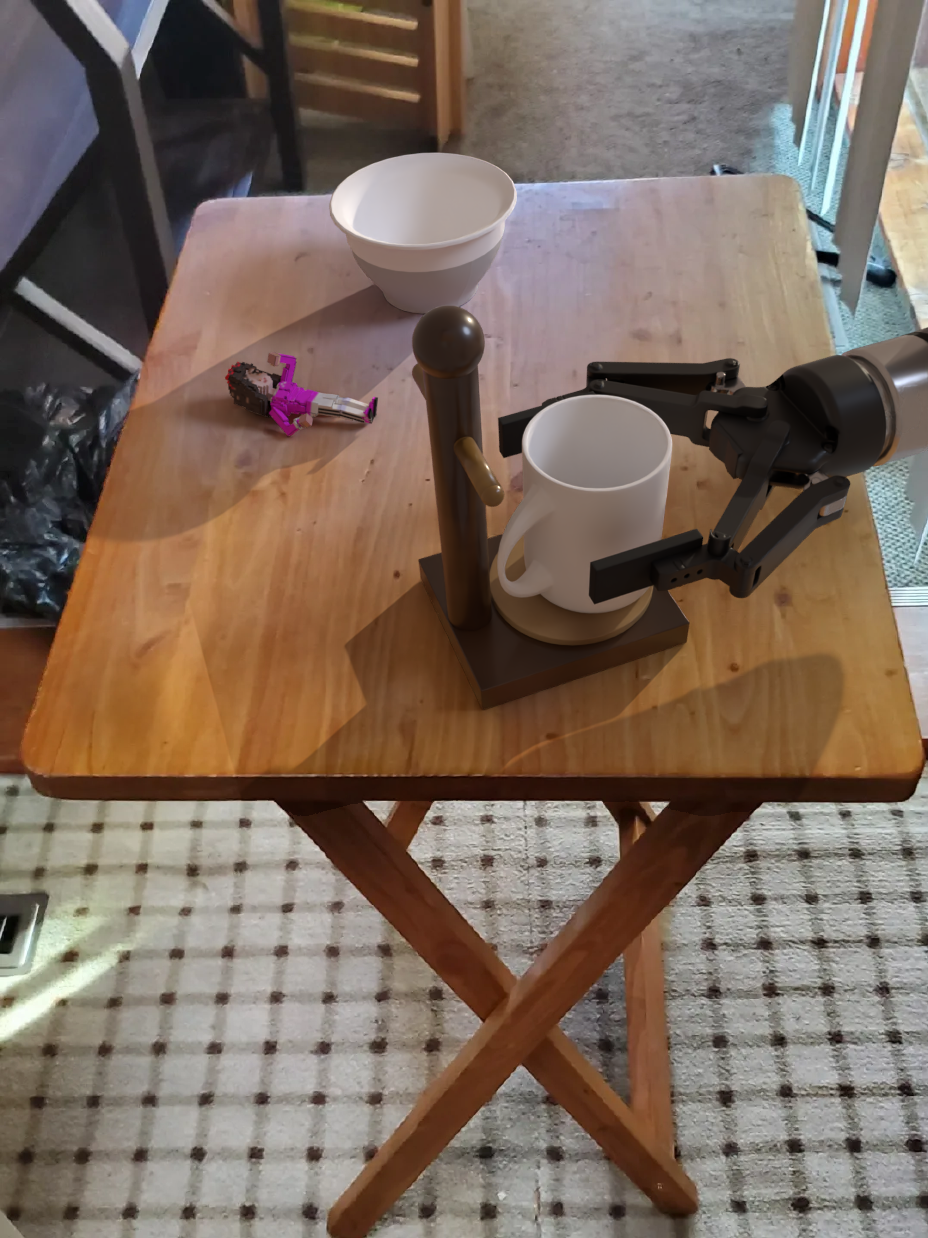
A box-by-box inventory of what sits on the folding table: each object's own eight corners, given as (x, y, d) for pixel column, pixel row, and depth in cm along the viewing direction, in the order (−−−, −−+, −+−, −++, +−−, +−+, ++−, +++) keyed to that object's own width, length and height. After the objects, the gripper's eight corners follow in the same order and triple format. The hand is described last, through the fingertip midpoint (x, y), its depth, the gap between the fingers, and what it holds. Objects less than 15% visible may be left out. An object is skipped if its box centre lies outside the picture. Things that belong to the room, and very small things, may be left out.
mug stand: (606, 521, 76) (626, 196, 58) (687, 644, 69) (740, 314, 50) (415, 579, 74) (373, 258, 55) (478, 713, 66) (453, 392, 48)
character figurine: (382, 409, 88) (240, 383, 89) (382, 359, 84) (234, 332, 85) (364, 456, 84) (217, 428, 85) (363, 406, 80) (208, 378, 81)
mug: (457, 590, 69) (445, 464, 61) (593, 504, 74) (599, 375, 66) (546, 669, 65) (546, 544, 57) (685, 572, 69) (704, 443, 61)
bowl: (384, 229, 104) (374, 142, 98) (541, 252, 100) (541, 163, 94) (313, 321, 95) (296, 231, 88) (483, 351, 90) (479, 259, 84)
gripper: (963, 586, 63) (634, 700, 59) (744, 354, 78) (471, 432, 74) (1005, 490, 57) (643, 609, 53) (759, 261, 73) (466, 340, 69)
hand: (542, 506), depth 64 cm, fingers open, 13 cm apart
